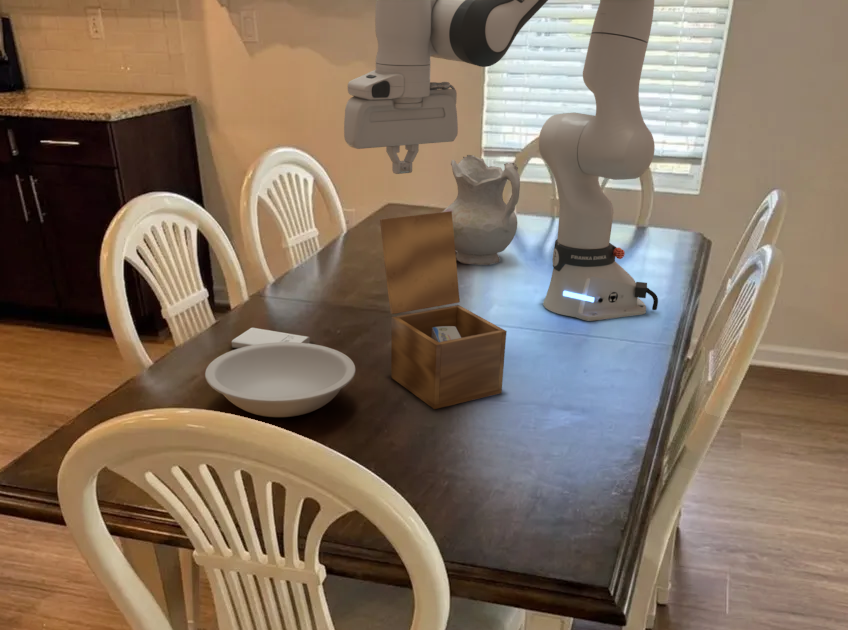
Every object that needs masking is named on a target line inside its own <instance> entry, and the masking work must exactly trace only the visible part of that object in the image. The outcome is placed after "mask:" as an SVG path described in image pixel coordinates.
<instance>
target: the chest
mask: <svg viewBox="0 0 848 630" xmlns="http://www.w3.org/2000/svg"><path fill="white" fill-rule="evenodd" d="M440 326H455V327H456V328H457V330H458V332H459V334H460V336H461V338H458V339H453V340H448V341H443V342H437V341H435V340H434V339H432V338H431V335H432V328H433V327H440ZM390 333H391V338H390V340H391V348H390V349H391V350H390V354H391V355H390V359H391V360H390V368H391V369H390V372H391V373H390V374H391V375H390V377H391V379H392V380H394V381H395V382H397V383H398V384H399V385H400V386H402V387H403V388H405V389H406V390H408V391H409V392H410V393H412V394H413V396H415V397H417V398H418V399H419V400H421V401H422V402H424V403H425V404H426V405H428V406H429V407H430V408H432V409H433V410H437V409H441V408H445V407H450V406H455V405H457V404H462V403H466V402H469V401H475V400H479V399H483V398H487V397H492V396H496V395H500V394H502V392H503V380H504V379H503V378H504V369H505V368H504V367H505V357H506V356H505V355H506V342H507V330H505V329H503V328H502V327H500V326H498V325H496V324H494V323H493V322H491V321H489V320H487V319H486V318H483V317H482V316H480V315H478V314H476V313H474V312H472V311H470V310H469V309H467V308H465V307H463V306H461V304H456V305H450V306H444V307H438V308H433V309H428V310H427V309H426V310H421V311H416V312H412V313H410V312H409V313H405V314H399V315H393V316H391V332H390Z"/></svg>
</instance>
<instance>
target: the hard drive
mask: <svg viewBox="0 0 848 630" xmlns="http://www.w3.org/2000/svg"><path fill="white" fill-rule="evenodd" d="M275 342H298V343H308V344H311V337H310V336H306V335H300V334H294V333H287V332H281V331H275V330H269V329H263V328H257V327H250V328H248V329H247V330H245V331H244V332H242V333H241V334H240V335H238V336H236V337H235V338H233V339H232V340H231V348H233V349H239V348H242V347H246V346H251V345H257V344H264V343H275Z"/></svg>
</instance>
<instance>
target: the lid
mask: <svg viewBox="0 0 848 630" xmlns="http://www.w3.org/2000/svg"><path fill="white" fill-rule="evenodd" d="M379 225H380V233H381V243H382V250H383V251H382V252H383V259H384V268H385V277H386V287H387V297H388V305H389V313H390V315H396V314H401V313H407V312H413V311H418V310H423V309H429V308H435V307H441V306H447V305H452V304H459V303H461V301H460V300H461V299H460V290H459V278H458V277H459V276H458V268H457V265H458V264H457V260H456V254H457V253H456V250H455V242H454V231H453V219H452V211H448V212H443V211H441V212H431V213H423V214H414V215H405V216H398V217H397V216H396V217H389V218H388V217H387V218H380V219H379Z"/></svg>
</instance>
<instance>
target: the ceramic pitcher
mask: <svg viewBox="0 0 848 630" xmlns="http://www.w3.org/2000/svg"><path fill="white" fill-rule="evenodd" d="M450 165H451V170H452V175H453V177H454V179H455V182H456V187H457V196H456V198H455V200H454V201H453V202H452V203H450V204H449V205H448V206H447V207H446V208H444V209H443V210H442V212H448V211H452V219H453V231H454V242H455V252H456V253H455V254H456V262H460V263H461V264H463V265H478V266H490V265H493V264H494V265H495V264H498V263H500V261H501V257H500V256H499V253H502V252H503V251H505V250H506V249H507V248H508V247H509V245H510V244H511V243H512V241H513V240H514V238H515V236H516V233H517V230H518V218H517V214H516V213H515V210H516V206H517V204H518V202H519V200H520V190H521V179H520V174H519V170H518V169H519V167H518V166H517V164H515V163H513V162H506V163H503V165H504V169H503V168H502V167H499V166H493V165H492V166H491V165H490V166H488V165H487V163H486V162H485V160H484V158H483V157H482V158H480V157H478V156H476V155H474V154H466V156H462V159H461V160H460V161H459V162H458V163H457V161H456V160H455V159H451V162H450ZM507 181H509V182H510V184H511V195H510V198H509V199H508V202H507V203H506V202H505V201H504V197H503V196H504V189H505V186H506V183H507Z"/></svg>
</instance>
